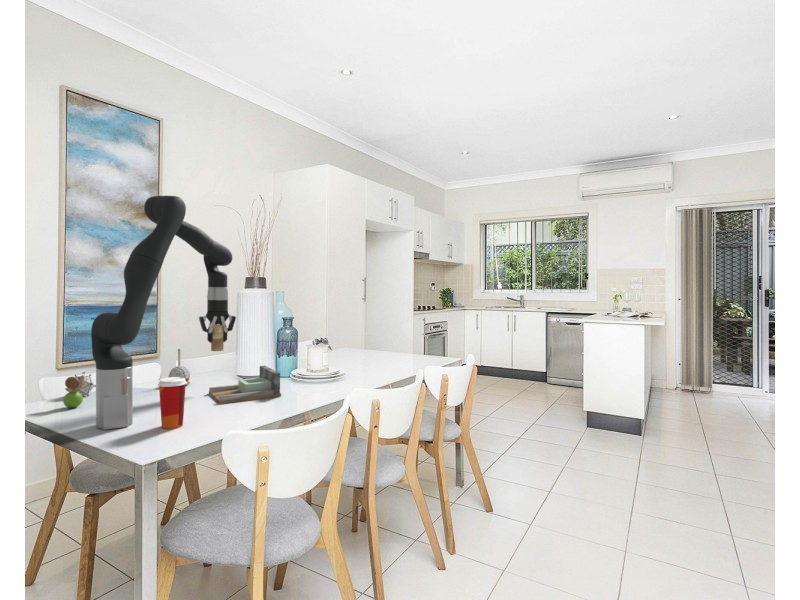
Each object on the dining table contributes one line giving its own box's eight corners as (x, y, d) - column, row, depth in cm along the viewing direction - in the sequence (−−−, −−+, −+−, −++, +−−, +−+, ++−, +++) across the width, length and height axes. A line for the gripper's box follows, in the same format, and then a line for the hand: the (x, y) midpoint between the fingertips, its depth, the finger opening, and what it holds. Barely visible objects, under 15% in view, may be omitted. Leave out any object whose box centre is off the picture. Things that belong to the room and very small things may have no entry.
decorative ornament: (177, 382, 195) (177, 347, 194) (193, 383, 193) (193, 348, 192) (164, 386, 187) (164, 349, 186) (181, 387, 185) (181, 350, 185)
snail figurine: (79, 409, 152) (79, 373, 152) (59, 409, 152) (58, 373, 151) (89, 405, 157) (89, 370, 157) (69, 405, 157) (69, 370, 156)
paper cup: (176, 420, 142) (176, 375, 142) (192, 424, 138) (192, 378, 138) (151, 427, 135) (151, 380, 135) (167, 431, 132) (167, 383, 131)
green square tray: (270, 392, 176) (271, 381, 176) (245, 395, 171) (245, 384, 171) (262, 387, 184) (262, 377, 184) (238, 390, 179) (238, 379, 179)
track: (281, 396, 174) (281, 372, 174) (220, 404, 162) (220, 378, 162) (265, 387, 189) (265, 365, 189) (208, 393, 177) (208, 370, 176)
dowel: (224, 350, 181) (224, 325, 181) (212, 351, 178) (212, 325, 178) (221, 349, 185) (222, 324, 184) (210, 350, 182) (210, 324, 182)
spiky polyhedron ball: (82, 407, 168) (76, 389, 162) (64, 397, 170) (58, 379, 164) (103, 391, 175) (98, 373, 169) (86, 382, 177) (80, 364, 171)
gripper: (200, 299, 174) (200, 344, 174) (239, 299, 182) (238, 342, 182) (196, 298, 180) (195, 342, 181) (233, 298, 188) (233, 340, 189)
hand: (217, 341), depth 181 cm, fingers closed on dowel, 4 cm apart
